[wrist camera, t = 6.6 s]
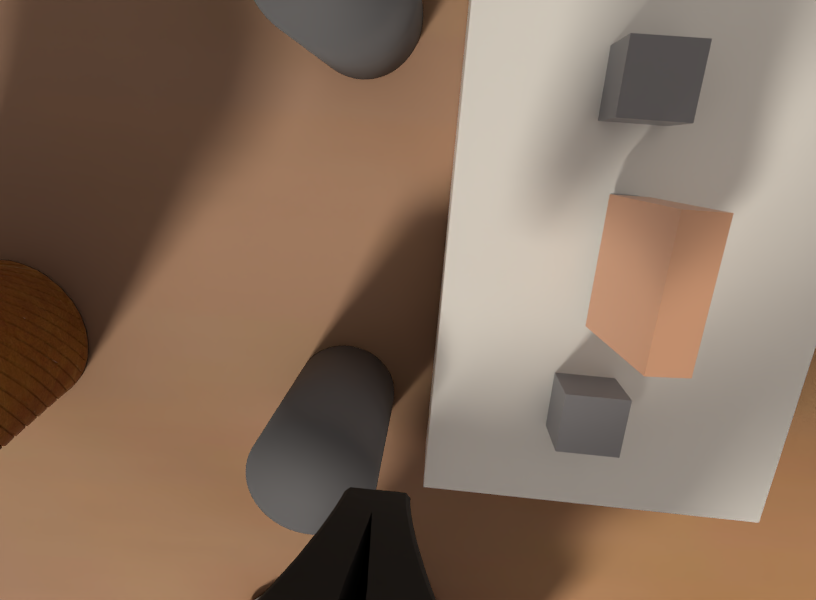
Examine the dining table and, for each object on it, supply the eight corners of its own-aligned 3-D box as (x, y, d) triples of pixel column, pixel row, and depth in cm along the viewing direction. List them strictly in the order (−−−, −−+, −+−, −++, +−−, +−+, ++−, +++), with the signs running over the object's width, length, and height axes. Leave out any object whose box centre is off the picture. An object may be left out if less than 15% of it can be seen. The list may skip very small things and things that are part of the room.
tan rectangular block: (637, 194, 15) (733, 212, 11) (612, 320, 17) (691, 378, 12) (599, 192, 15) (681, 209, 11) (576, 318, 16) (644, 376, 12)
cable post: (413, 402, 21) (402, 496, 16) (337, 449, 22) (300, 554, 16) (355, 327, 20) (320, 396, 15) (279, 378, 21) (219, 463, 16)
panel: (857, -23, 16) (1013, -89, 12) (715, 471, 21) (787, 556, 17) (473, -48, 17) (484, -119, 12) (426, 442, 22) (421, 516, 17)
